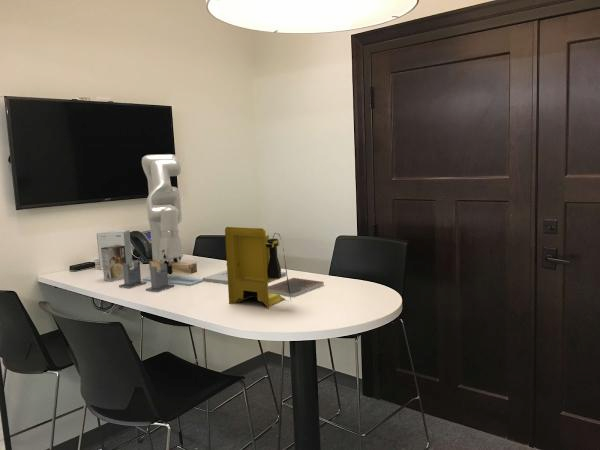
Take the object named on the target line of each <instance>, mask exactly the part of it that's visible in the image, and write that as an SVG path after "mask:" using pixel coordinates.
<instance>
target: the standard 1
mask: <svg viewBox="0 0 600 450" xmlns="http://www.w3.org/2000/svg"><path fill="white" fill-rule="evenodd" d="M132 263H133V267H129V264H123V273H124V279H123V282H124V283H122V284H119V285H118V288H122V287H124V289H134V288H136V286H137V287H140V286H142V285H147V284H146V283H148V281H145V280H142V277H141V275H142V274H141V265H140V261H139V260H132Z"/></svg>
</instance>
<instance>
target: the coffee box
mask: <svg viewBox="0 0 600 450" xmlns="http://www.w3.org/2000/svg"><path fill="white" fill-rule="evenodd" d="M101 252H102V262H103V269H102V271H103V280H104V281H106V280H108V282H115V281H114V280H116V281H119V280H118V279H120V280H124V279H123V278H124V273H123V264H126V255H125V246H122V245H114V246H109V247H103V248H101Z"/></svg>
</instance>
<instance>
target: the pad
mask: <svg viewBox="0 0 600 450" xmlns="http://www.w3.org/2000/svg"><path fill="white" fill-rule="evenodd" d="M167 275H168V284H170V285H178V286H179V285H180V286H189V287H191V285H192V286H194V284H195V285H198V284H201V283H203V278H198V277H197V278H196V277H186V276H178V275H172V274H167ZM145 280H146V281H145ZM142 281H145V282H151V275H150V276H147V277H143V278H142Z"/></svg>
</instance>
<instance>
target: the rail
mask: <svg viewBox="0 0 600 450" xmlns="http://www.w3.org/2000/svg"><path fill="white" fill-rule="evenodd" d="M167 262H168V261H167ZM148 264H149V265H148V266H149V268H150V267H151V266H155V267H157V271H161V269H160V264H164V263H163V262H161V261H159V260H153V259H152V260H149V261H148ZM197 265H198V264H197V262H194V263H193V262H192V263H191V262H182V261H180V262H174V261H173V262H171V265H170V266H172V273H179V274H186V275H187V274H188V275H193V274H195V273H198V266H197Z"/></svg>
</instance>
